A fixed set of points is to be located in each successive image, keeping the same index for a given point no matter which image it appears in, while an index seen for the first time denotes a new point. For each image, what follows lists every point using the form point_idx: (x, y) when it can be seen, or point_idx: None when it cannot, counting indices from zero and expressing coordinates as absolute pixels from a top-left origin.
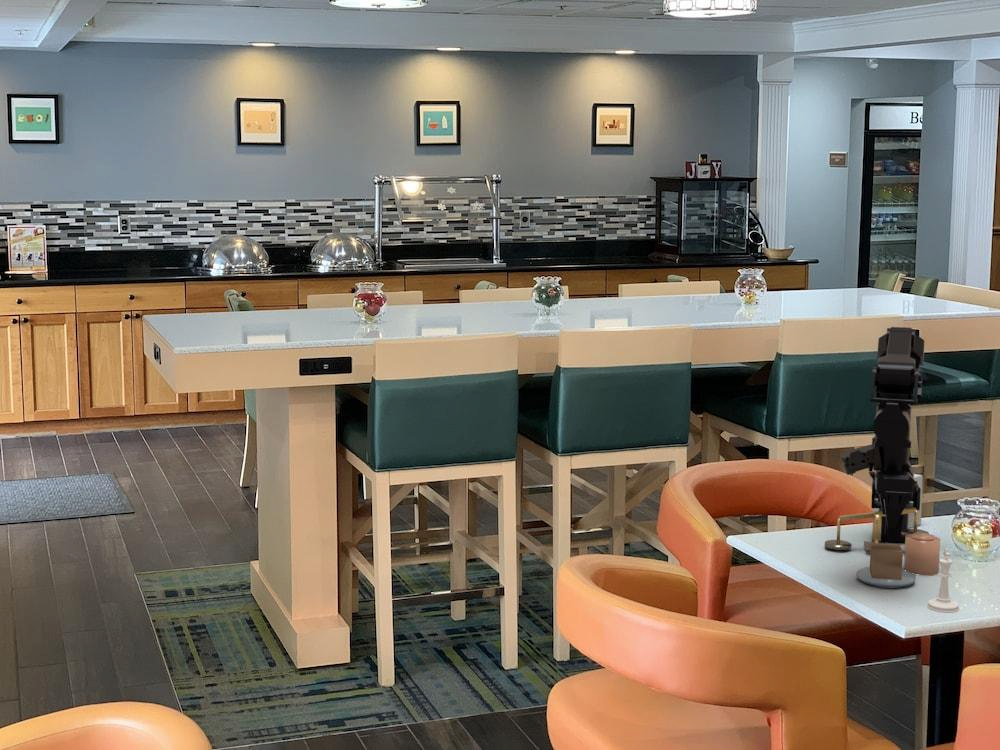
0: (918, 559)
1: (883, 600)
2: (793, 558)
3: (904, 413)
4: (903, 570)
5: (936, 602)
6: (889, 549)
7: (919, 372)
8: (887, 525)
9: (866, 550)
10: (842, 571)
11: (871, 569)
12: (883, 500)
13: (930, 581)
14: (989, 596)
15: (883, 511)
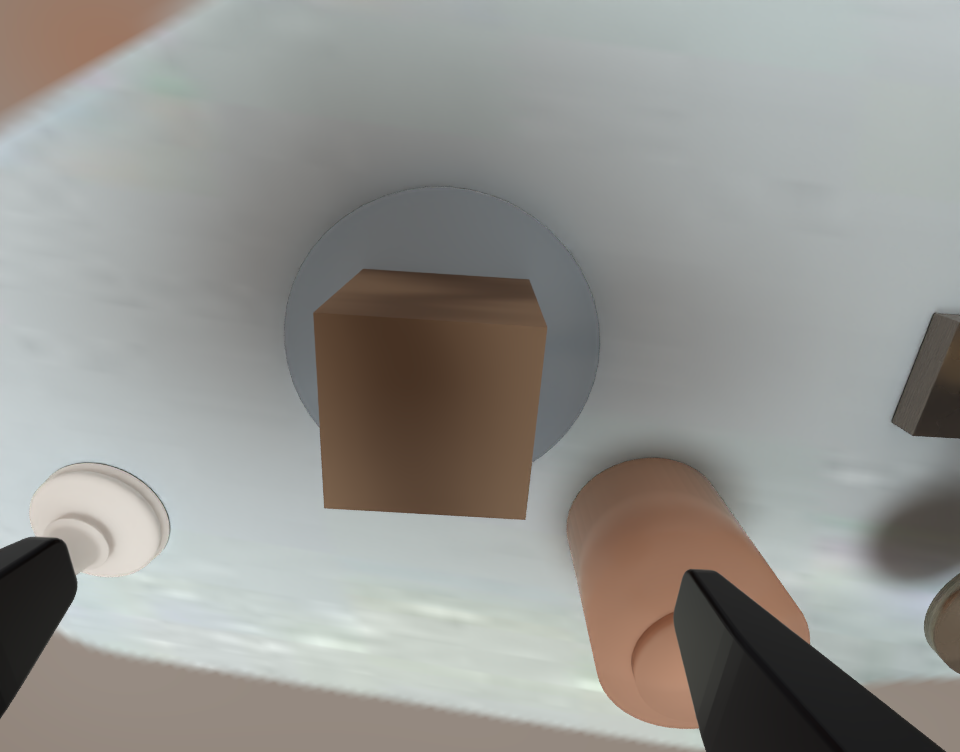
0: (587, 550)
1: (105, 284)
2: None
3: None
4: (537, 452)
5: (54, 506)
6: (369, 434)
7: None
8: (11, 544)
9: (955, 321)
10: (603, 120)
11: (398, 279)
12: (789, 742)
13: (475, 532)
14: (318, 681)
15: (696, 598)
